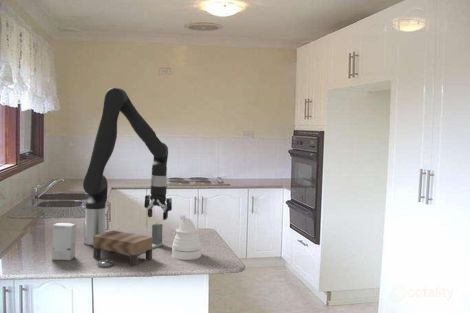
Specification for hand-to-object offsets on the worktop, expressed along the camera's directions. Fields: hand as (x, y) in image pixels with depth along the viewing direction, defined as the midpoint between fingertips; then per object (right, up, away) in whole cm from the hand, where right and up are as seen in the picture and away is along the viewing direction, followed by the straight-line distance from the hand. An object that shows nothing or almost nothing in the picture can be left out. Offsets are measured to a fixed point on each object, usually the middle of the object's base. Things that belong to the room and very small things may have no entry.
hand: (157, 218), depth 222 cm
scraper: (-4, -14, -7) cm, 16 cm away
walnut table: (-11, -14, -21) cm, 28 cm away
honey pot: (+15, -15, -15) cm, 26 cm away
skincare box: (-36, -14, -24) cm, 45 cm away
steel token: (-16, -15, -31) cm, 38 cm away
